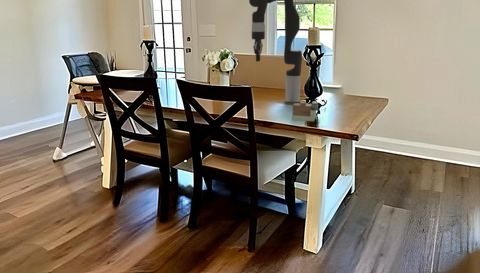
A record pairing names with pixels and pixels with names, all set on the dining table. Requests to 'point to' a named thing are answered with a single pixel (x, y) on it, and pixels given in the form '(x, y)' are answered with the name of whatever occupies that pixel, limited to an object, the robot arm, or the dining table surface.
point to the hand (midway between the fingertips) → (258, 61)
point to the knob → (314, 106)
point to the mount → (306, 117)
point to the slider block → (301, 109)
